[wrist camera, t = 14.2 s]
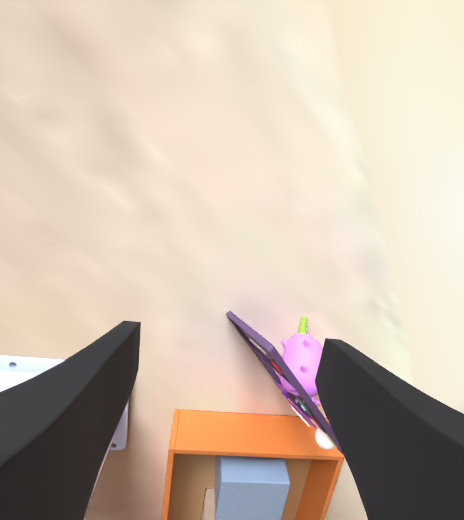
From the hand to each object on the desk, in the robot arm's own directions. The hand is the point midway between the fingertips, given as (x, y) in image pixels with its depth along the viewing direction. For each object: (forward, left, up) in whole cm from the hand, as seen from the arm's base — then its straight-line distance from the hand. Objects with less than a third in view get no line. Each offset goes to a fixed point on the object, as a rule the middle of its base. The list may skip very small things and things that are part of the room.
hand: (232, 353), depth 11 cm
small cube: (+4, -16, -9) cm, 19 cm away
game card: (+5, -5, -10) cm, 12 cm away
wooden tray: (+4, -22, -9) cm, 24 cm away
